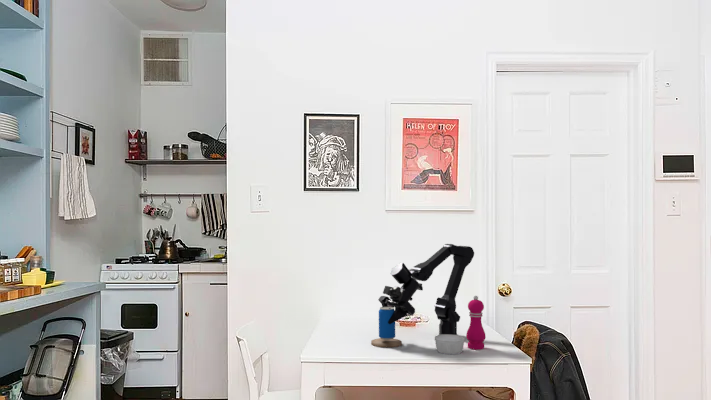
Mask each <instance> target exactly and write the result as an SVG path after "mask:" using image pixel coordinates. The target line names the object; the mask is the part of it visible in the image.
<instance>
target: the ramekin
mask: <svg viewBox="0 0 711 400" xmlns="http://www.w3.org/2000/svg"><path fill="white" fill-rule="evenodd" d="M465 339H466V338H465V337H464V336H462V335H459V334H457V335H450V334H443V335H440V334H438V335H437V334H436V335H435V336H434V341H435V342H434V343H435V347H436V351H437V352H438V353H441V354H444V355H459V354H461V353H462V352H463V351H464V343H465Z"/></svg>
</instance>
